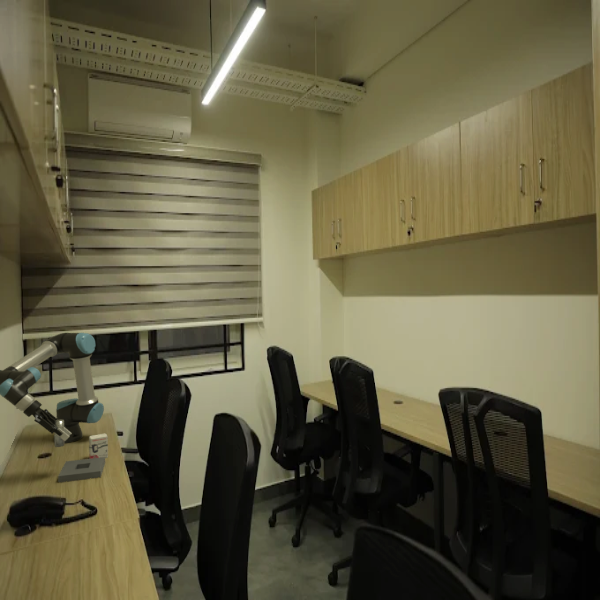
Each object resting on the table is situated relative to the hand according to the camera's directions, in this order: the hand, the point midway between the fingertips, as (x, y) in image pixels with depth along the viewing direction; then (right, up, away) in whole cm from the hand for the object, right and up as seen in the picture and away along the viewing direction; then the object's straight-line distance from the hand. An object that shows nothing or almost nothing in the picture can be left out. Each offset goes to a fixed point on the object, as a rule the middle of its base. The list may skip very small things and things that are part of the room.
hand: (68, 437), depth 211 cm
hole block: (+6, -18, +2) cm, 19 cm away
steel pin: (-4, -4, -1) cm, 5 cm away
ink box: (+5, -18, +20) cm, 27 cm away
